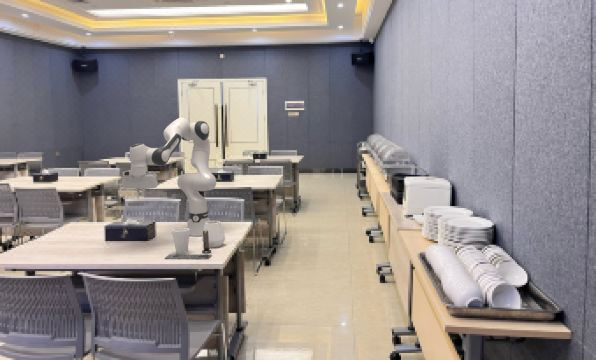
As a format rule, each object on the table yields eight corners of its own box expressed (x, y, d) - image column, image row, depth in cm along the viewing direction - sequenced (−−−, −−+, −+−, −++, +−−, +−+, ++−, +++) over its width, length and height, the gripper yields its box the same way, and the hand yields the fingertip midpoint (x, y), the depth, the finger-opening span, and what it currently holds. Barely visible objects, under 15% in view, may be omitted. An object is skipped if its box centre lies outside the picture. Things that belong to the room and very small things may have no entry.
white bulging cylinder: (229, 243, 308) (228, 220, 307) (219, 249, 296) (218, 224, 294) (208, 242, 312) (207, 219, 310) (198, 248, 299) (197, 224, 298)
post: (203, 251, 292) (202, 230, 290) (212, 251, 291) (211, 230, 290) (200, 253, 287) (199, 232, 285) (209, 253, 286) (208, 232, 285)
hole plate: (169, 255, 285) (169, 254, 285) (212, 255, 282) (212, 254, 282) (164, 259, 278) (164, 257, 278) (208, 259, 275) (208, 257, 275)
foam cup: (176, 255, 284) (175, 232, 282) (170, 252, 292) (169, 229, 290) (193, 252, 289) (191, 229, 287) (187, 249, 297) (186, 227, 295)
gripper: (158, 170, 300) (160, 194, 302) (124, 171, 302) (126, 195, 304) (154, 172, 294) (156, 196, 296) (119, 172, 296) (121, 196, 298)
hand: (140, 195), depth 300 cm, fingers closed
